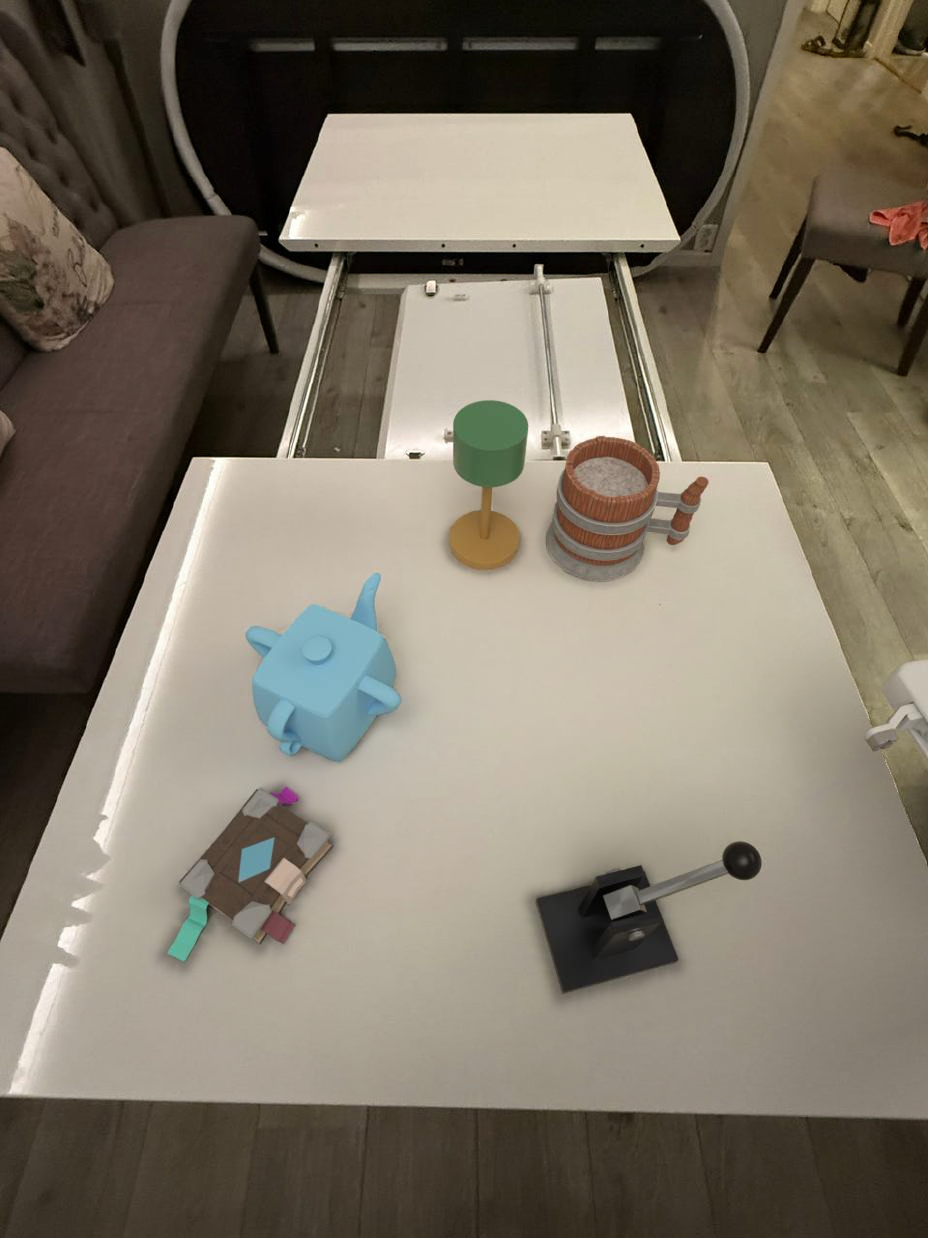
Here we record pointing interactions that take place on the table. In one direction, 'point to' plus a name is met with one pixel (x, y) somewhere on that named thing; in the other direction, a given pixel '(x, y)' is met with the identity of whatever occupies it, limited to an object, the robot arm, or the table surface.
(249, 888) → the book
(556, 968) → the switch bracket
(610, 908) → the lever
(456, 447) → the lamp
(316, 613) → the teapot
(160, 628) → the table surface
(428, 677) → the table surface
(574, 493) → the mug
